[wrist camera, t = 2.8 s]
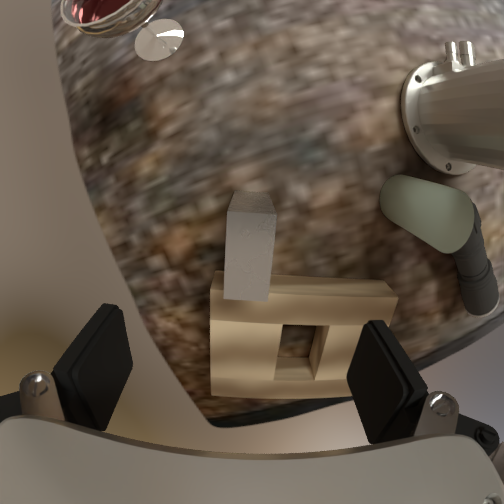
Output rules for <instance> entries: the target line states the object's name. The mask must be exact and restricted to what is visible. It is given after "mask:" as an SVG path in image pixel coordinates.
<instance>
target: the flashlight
mask: <svg viewBox="0 0 504 504" xmlns="http://www.w3.org/2000/svg"><path fill="white" fill-rule="evenodd" d="M470 200H471V199H470ZM471 202H472V201H471ZM472 205H473V208H474V224H473V229H472V232H471V234H470V236H469V238H468V240H467V241H466V243H465V244H464V245H463V246H462V247H461V248H460V249H459V250H457V251H455V252H453V253H451V254H452V256H453V257H454V259H455V262H456V265H457V268H458V274H457V276H458V280H459V283H460V286H461V295H462V299H463V302H464V306H465V309H466V311H467V313H468V314H469V315H470V316H472V317H476V318H481V317H485V316H487V315H489V314H491V313H492V312H493V311H494V310H495V309H496V307H497V305H498V303H499V292H498V286H497V281H496V278H495V276H494V274H493V268H492V264H491V262H490V260H489V259H488V258H487V255H486V251H485V247H484V239H483V236H482V232H481V228H480V227H481V220H480V217H479V213H478V210H477V208H476V205H475V204H474V203H473V202H472Z"/></svg>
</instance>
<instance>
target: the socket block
mask: <svg viewBox="0 0 504 504" xmlns="http://www.w3.org/2000/svg"><path fill="white" fill-rule="evenodd" d="M223 297H224V271H216V270H215V274H214V277H213V281H212V285H211V288H210V369H211V395H214V396H225V397H240V398H264V399H306V398H330V397H345V396H352V394H351V391H350V388H349V386H348V383H347V379H346V376H347V372H348V369H349V366H350V363H351V361H352V358H353V355H354V352H355V349H356V346H357V343H358V340H359V337H360V334H361V331H362V328H363V325H364V324H367V322H368V321H369V320H383V321H384V322H385V323H386V325H387V326H388V327H389V325H390V322H391V320H392V317H393V314H394V311H395V308H396V305H397V302H398V298H399V297H398V296H397V295H396V294H395V293H394V291H393V290H392V289H391V288H390V287H389V286H388V285H387V284H386V282H385V281H384V280H371V279H348V278H328V277H310V276H292V275H276V274H271V277H270V286H269V295H268V302H263V301H246V300H232V299H223ZM283 324H289V325H317V326H316V330H315V335H314V339H313V343H312V347H311V351H310V355H309V358H302V357H277V356H278V350H279V344H280V338H281V332H282V326H283Z"/></svg>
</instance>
